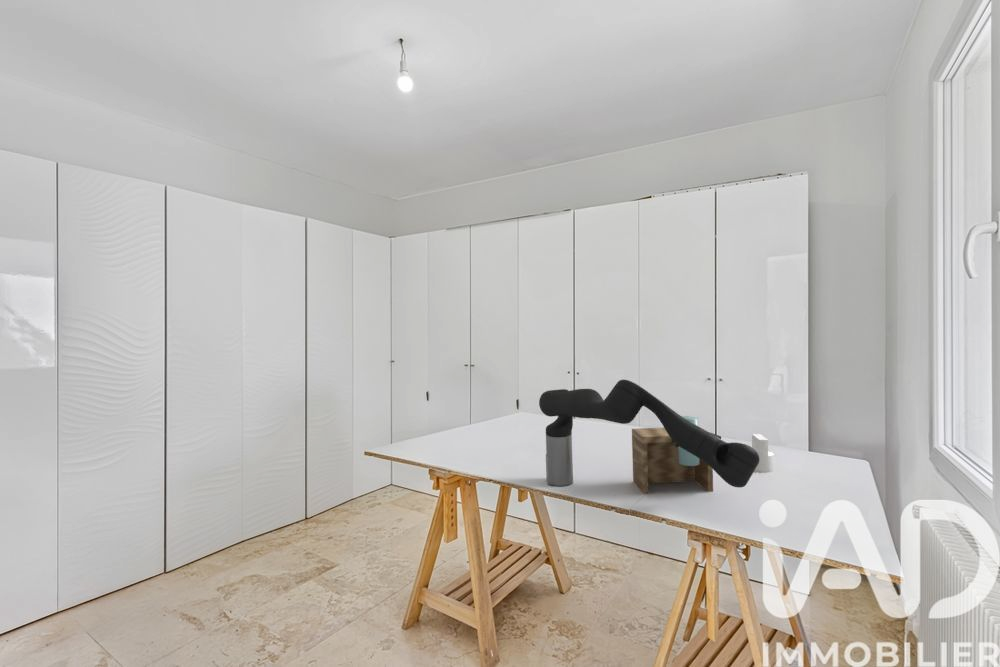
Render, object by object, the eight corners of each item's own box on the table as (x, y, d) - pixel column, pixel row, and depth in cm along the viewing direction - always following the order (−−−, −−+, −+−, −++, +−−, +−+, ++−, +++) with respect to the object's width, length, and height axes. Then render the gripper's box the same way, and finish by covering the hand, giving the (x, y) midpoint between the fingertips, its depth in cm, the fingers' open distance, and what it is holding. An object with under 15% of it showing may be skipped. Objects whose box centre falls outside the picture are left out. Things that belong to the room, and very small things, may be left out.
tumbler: (694, 467, 146) (693, 420, 146) (675, 463, 150) (674, 418, 150) (702, 462, 150) (701, 417, 150) (683, 459, 154) (682, 415, 154)
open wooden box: (643, 494, 159) (642, 437, 159) (633, 482, 171) (631, 428, 171) (713, 491, 160) (711, 434, 159) (697, 479, 172) (696, 426, 171)
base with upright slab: (777, 472, 176) (777, 440, 175) (751, 472, 178) (750, 439, 177) (769, 465, 185) (768, 434, 184) (743, 464, 186) (743, 433, 186)
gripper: (734, 433, 136) (707, 421, 152) (682, 435, 135) (661, 422, 152) (734, 459, 136) (708, 444, 153) (683, 461, 136) (662, 446, 152)
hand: (685, 433), depth 152 cm, fingers closed on tumbler, 6 cm apart
